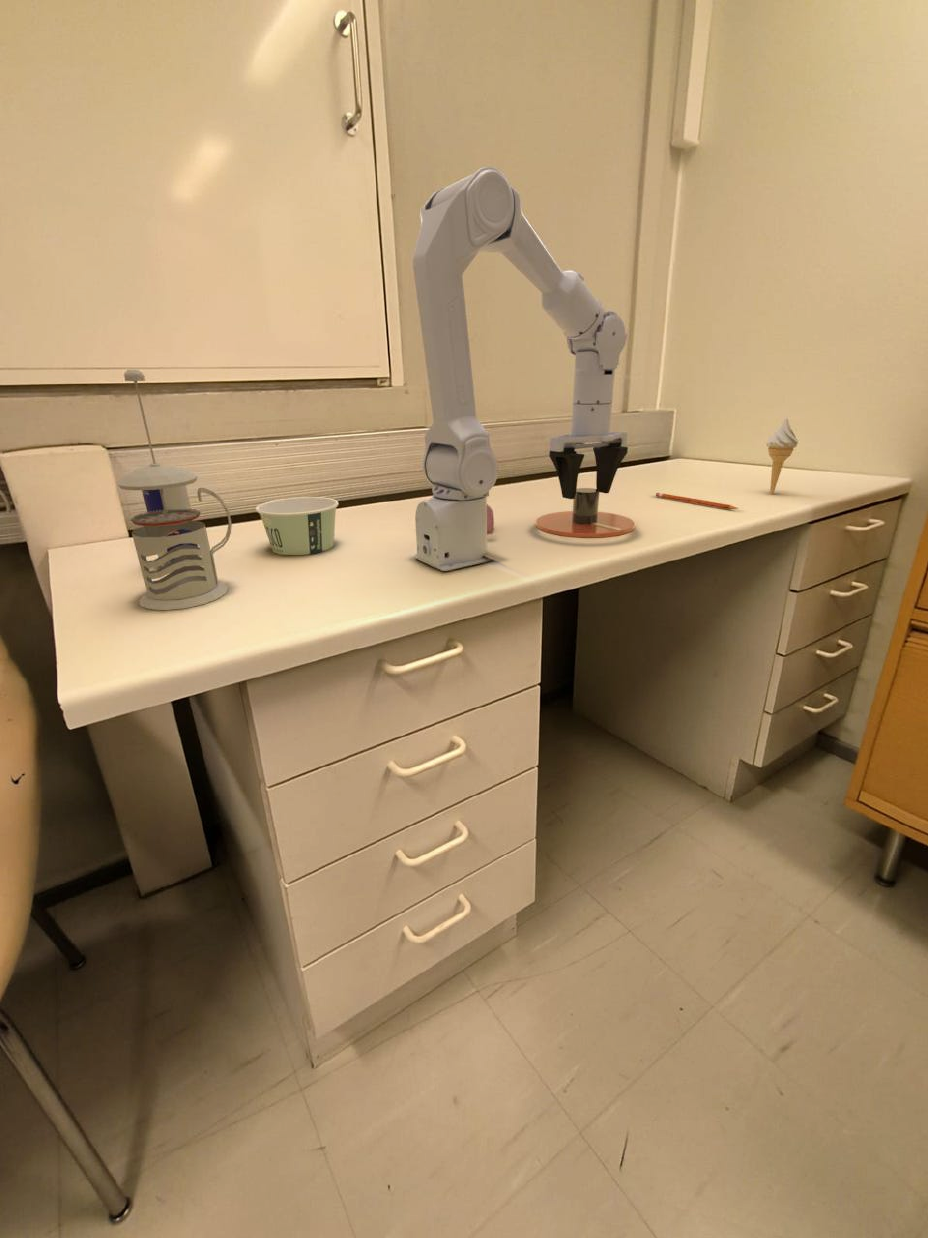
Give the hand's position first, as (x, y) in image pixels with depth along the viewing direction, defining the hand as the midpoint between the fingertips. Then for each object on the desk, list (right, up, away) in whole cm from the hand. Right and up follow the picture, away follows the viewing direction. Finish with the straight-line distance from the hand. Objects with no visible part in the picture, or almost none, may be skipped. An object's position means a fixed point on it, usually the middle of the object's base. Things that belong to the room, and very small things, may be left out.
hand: (586, 495), depth 89 cm
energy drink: (-59, -12, -10) cm, 61 cm away
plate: (0, -4, +2) cm, 5 cm away
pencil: (+26, +3, +20) cm, 33 cm away
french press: (-52, -17, -21) cm, 59 cm away
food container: (-44, -9, -3) cm, 45 cm away
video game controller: (-20, -6, +1) cm, 21 cm away
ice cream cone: (+44, +6, +27) cm, 52 cm away
